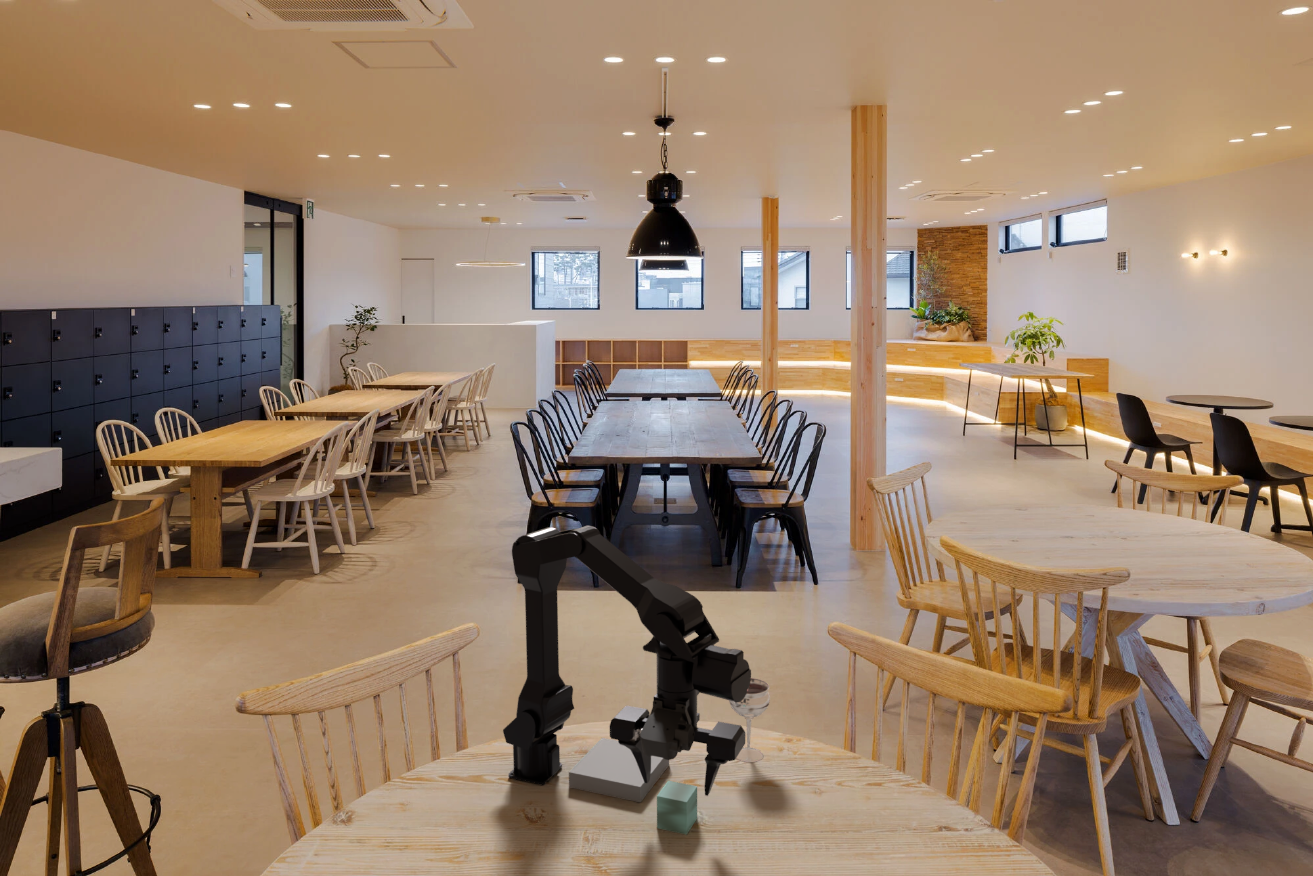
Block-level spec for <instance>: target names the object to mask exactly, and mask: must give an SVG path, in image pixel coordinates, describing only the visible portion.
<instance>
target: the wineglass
mask: <svg viewBox="0 0 1313 876" xmlns="http://www.w3.org/2000/svg"><path fill="white" fill-rule="evenodd" d="M769 689H770V685H769V683H768V682H767V681H765V680H763V679H761V678H760V679H759V678H755V677H751V680H750V685H749V689H748V691H747V694H746V696H745V697H744V699H743V700H742V701H741V702H734V701H730V700H728V701H729V702H728V703H729V704H730V707H731V709H732V710H733V711H734V712H735V713H736V715H738V716H741V717H743V718H744V719H745V720H746V744H747V747H746V746H745V748H744V747H743V748H742V749H741V751H740V753H739V754H738V756H737V757H736V759H737V760H738V761H741V762H744V763H745V762H747V763H755V762H758V761H759V762H760V761H761V760H762V759H763V758H764V753H763V752H762V751H761V750H760V749H757V748H756V747H751V734H752V732H751V731H752V720H753V719H754V718H757V717H759V716H761V715H762V714H763V713H764V712H765V711H766V710H767V709H768V707H769V705H770V701H771V696H770V693H769ZM736 759H735V760H736Z"/></svg>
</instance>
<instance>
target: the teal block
mask: <svg viewBox="0 0 1313 876" xmlns="http://www.w3.org/2000/svg"><path fill="white" fill-rule="evenodd" d="M697 820H698V786H696V785H692V784H686V783H682V782H678V781H672V780H667V782H666V783H665V785H664V786H663V787H662V788H661V789H660V791H659V792H658V794H657V795H656V829H660V830H664V831H669V832H673V833H677V834H681V835H686V836H687V835H688V834H689V831H690V830H691V829H692V827H693V826H694V824H695V822H696V821H697Z"/></svg>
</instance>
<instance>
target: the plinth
mask: <svg viewBox="0 0 1313 876" xmlns="http://www.w3.org/2000/svg"><path fill="white" fill-rule="evenodd" d="M669 766H670V760H666V759H664V758H661V757H656V756H651V774H650V780H649V782H648V783H645V782H644V780H643V777H642V775H641V772H640V770H639V767H638V765H637V762H636V760H635V757H634V755H633V754H632V752H631V750H630V749H629V748H627V747H626V746H624V745H620V744H619V742H618V740H616V739H611V738H605V737H601V738H600V739H599V740H598V741H597V742H596V743H595V744H594V745H593V747H591V748H590V749H589V750H588V752H587V753H585V755H584V756H583V757H581V759H580V760H579V761H578V762H577V763H576V764H575V765H574V766H573V767H572V768H571V769H570V770H569V771H568V787H569V788H571V789H575V790H581V791H585V792H590V793H595V794H599V795H604V796H608V797H613V798H619V799H623V800H627V801H632V802H637V803H641V802H642V801H643V800H644V799H645V797H646V796H648V793H649V792H651V789H652V788H653V787H654V786H655V784H657V782H658V780H659V779H660V778H661V777H662V775H663V774H664V772H665V771H666V770H667V769H668V768H669Z"/></svg>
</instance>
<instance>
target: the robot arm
mask: <svg viewBox="0 0 1313 876" xmlns="http://www.w3.org/2000/svg"><path fill="white" fill-rule="evenodd" d="M511 556H512V562H513V568H514V574H515V576H516V578H517V579H518V582H519V583H520V584H521V586H522V587H523V589H524V597H525V598H524V602H525V603H524V606H525V612H524V613H525V641H526V642H525V644H526V646H525V647H526V649H525V650H526V679H525V682H524V684H523V687H522V689H521V691H520V693H519V695H518V698H517V706H516V716H515V718H514V719H513V720H511V722H510V723H509V724H507V725H506V726H505V727H504V728H503V730H502V733H503V736H504V739H505V742H506V744H509V745H512V754H513V755H512V756H513V759H512V760H513V769H512V770H511V771H510V772H509V773H508V779H514V780H518V781H523V782H527V783H531V784H537V785H541V786H542V785H543V786H544V785H546V784H547V783H548V781H550V780H551V778H553V777H554V776H555V774H557V773H558V772H559V770H561V768H562V767H563V763H562V762H561V761H560V759H561V758H560V757H561V756H560V754H561V753H560V745H559V744H558V740H557V736H558V735H557V734H556V733H557V732H559V731H561V730H563V728H564V724H565V723H566V722H567V720H569V718H570V717H571V713H572V711H573V710H575V705H574V702H573V694H574V687H573V686H572V685H567V684H565V682H564V680H563V678H561V675H560V669H559V668H560V666H559V663H560V662H559V661H560V658H559V621H558V619H559V618H558V617H559V614H558V611H559V610H558V607H559V606H558V586H559V584H560V582H561V579H562V578H563V575H564V572H565V570H566V567H567V561H568V559H570V558H576V559H577V560H578V561H579V562H581V563H582V564H583V565H584V566H585V567H587V568H588V569H589V570H590V571H591V572H593V574H595V575H596V576H597V577H599V578H600V579H601V580H602V581H603V582H605V583H606V584H607V585H609V586H610V587H611V588H612V589H613V590H614V591H616V592H617V593H618V594H620V596H621V597H623V599H625V600H627V602H629V603H630V604H631V605H632V607H634V609H636V612H637V615H638V617H639V620H640V622H641V624H642V625H643V626H644V628H646V629H647V631H648V632H649V633H650V634H651V635H652V637H651V639H650V640H649V641H648V642H646V644H644V645H643V646H642V650H643V651H644V652H649V653H651V654H652V653H653V654H655V655H656V694H655V695H654V696H653V701H652V708H651V711H649V709H648V708H642V707H638V706H633V705H632V706H631V705H625V706H623V708H622V709H620V711H618V713H617V714H616V715H615V716H614V717H613V718H612V719H611V720H610V723H609V737H610V739H611V740H617V741H618V742H619V744H620V745H624V746H626V747H627V748H629V749H630V750H631V752H632V754H633V755H634V757H635V760H636V762H637V765H638V767H639V770H640V772H641V775H642V777H643V780H644V782H645V783H648V782H649V780H650V774H651V756H656V757H661V758H664V759H666V760H669V761H672V760H674V759H675V758H676V757H677V756H678V753H681V752H682V751H686V752H689V751H690V750H691V748H692V746H693V745H694V742H695V743H699V744H706V746H705V747H706V749H705V751H706V753H707V755H706V756H705V757H704V761H705V764H706V767H705V777H704V778H705V779H704V796H706V797H708V796H709V795H710V793H711V791H712V787H713V786H714V782H715V780H716V778H717V775H718V772H719V769H720V767H721V765H724V764H726V763H728V762H733V761H735V760H736V757H737V756H738V754H739V753H740V751H741V749H742V748H744V746H745V745H746V731H745V729H744V728H743V726H742V725H740V724H735V723H729V722H723V721H717V723H716V724H715V726H714V727H713V728H712V729H708V728H703V727H698V723H699V721H700V719H701V718H700V716H701V714H700V712H698V696H699V694H704V695H707V696H711V697H715V698H719V699H722V700H726V701H729V700H730V701H734V702H741V701H742V700H743V699H744V697H745V696H746V694H747V691H748V689H749V685H750V680H751V678H752V669H750V665H749V662H748V661H747V659H746V658H745V659H744V657H745V656H744V651H743V650H742V649H738V648H727V647H721V646H718V645H716V644H717V643H719V642H720V639H719V636H718V635H717V633H716V632H715V629H714V628H713V627H712V625H711V624H710V622H709V620H708V617H707V616H706V615H705V613H704V610H703V608H704V607H703V605H702V603H701V601H700V600H699V599H698V598H697V597H696V596H694V595H693V594H691V593H689V592H688V591H686V590H684V589H682V588H680V587H679V586H677V585H675V584H674V585H673V584H670V583H667V582H663V581H661V580H659V579H657V578H655V577H654V576H652V575H651V574H650V573H649V572H647V571H646V570H645V569H644V568H642V567H641V566H640V565H639V564H637V563H636V562H635V561H634V560H633V559H631V558H630V557H629V556H628V555H626V554H625V553H624V552H623V551H621V550H620V549H619V548H618V547H617V546H616V545H614V544H613V543H611V542H610V541H609V540H608V539H607V538H605V537H604V536H603V535H602V533H601V532H600V530H599V529H598V528H596V527H595V526H592V525H585V526H582V527H580V528H571V529H566V530H561V531H560V530H558V529H557V528H555V527H550V526H549V527H548V526H547V527H545V528H542V529H539V530H536V531H532V532H530V533H526V534H523V535H521V536H519V537H517V539H516V540H515V541H513V544H512V546H511ZM694 633H695V634H697V636H696V637H694V638H693V639H692V640H689V641H688V642H687V641H686V640H685V638H687V637H690V636H691V635H693V634H694Z"/></svg>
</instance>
